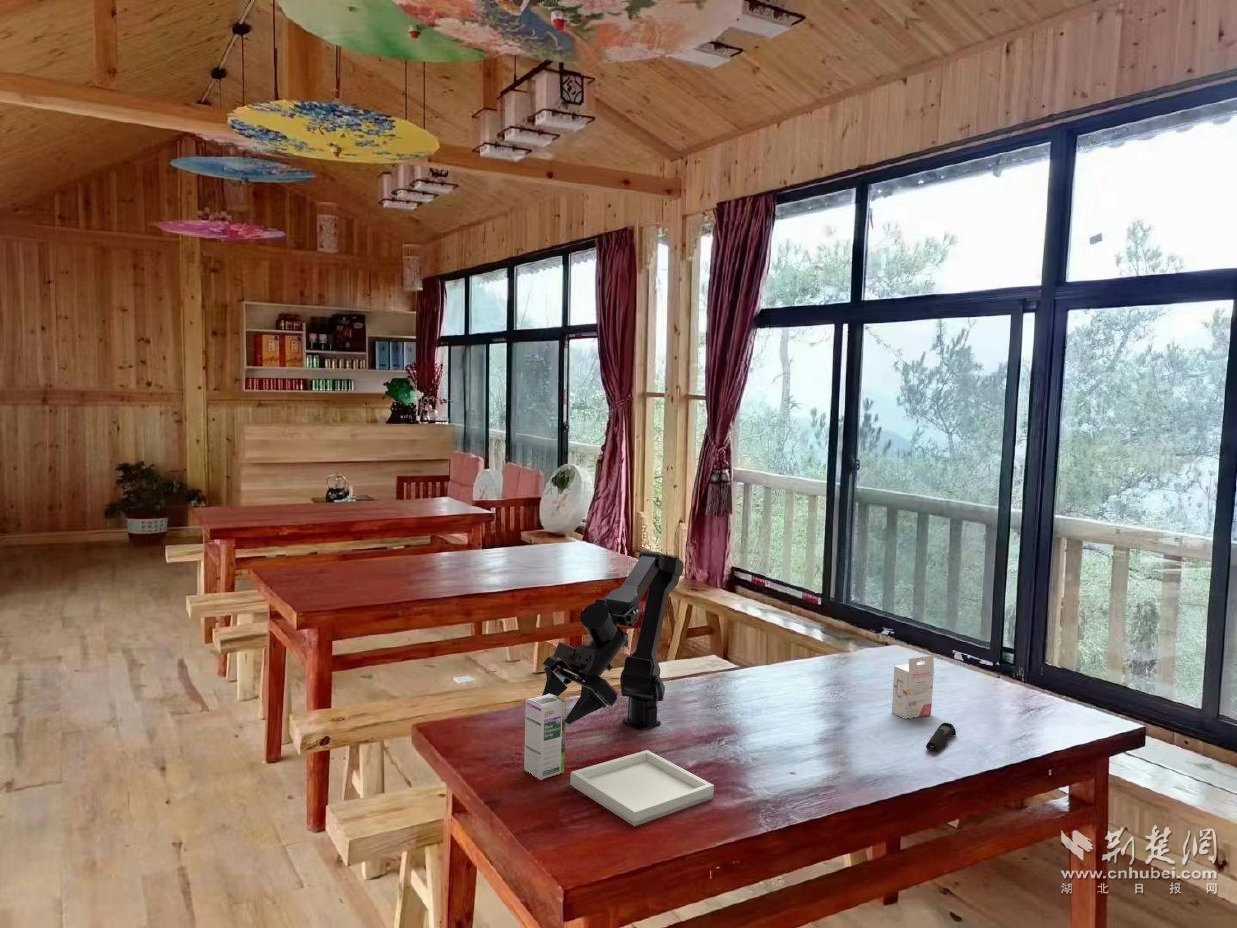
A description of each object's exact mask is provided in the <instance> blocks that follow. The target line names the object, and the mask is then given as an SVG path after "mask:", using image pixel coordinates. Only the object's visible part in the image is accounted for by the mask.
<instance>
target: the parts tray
mask: <svg viewBox="0 0 1237 928" xmlns="http://www.w3.org/2000/svg"><path fill="white" fill-rule="evenodd" d="M569 781H570V782H569V786H571V785H572V786H571V787H573V788H574V789H575V790H577V791H579V792H580V793H582V794H583V795H585V796H586V797H589V798H590V799H592V800H593V801H595V802H596V803H598V804H599V805H601V806H603V807H604V808H606V809H607V810H608V811H610V812H611V813H613V814H614V815H616V816H618V817H620V818H621V819H623V820H624V821H625V822H627V823H628V824H630V825H631V826H633V827H636V826H640V825H642V824H645V823H647V822H648V823H649V822H651V821H653V820H657V819H659V818H662V817H664V816H668V815H671V814H673V813H676V812H679V811H681V810H684V809H687V808H690V807H693V806H695V805H698V804H701V803H704V802H707V801H709V800H712V799H714V792H715V791H714V789H715V785H714V784H713V783H711V782H709V781H707V780H705V779H703V778H701V777H699V776H697V775H695V774H694V773H691V772H690V771H689V770H686V769H684V768H682V767H680V766H678V765H677V764H675V763H673V762H671V761H669V760H668V759H665V758H663V757H662V756H660V755H657V754H656V753H653V752H652V751H650V750H649V749H646V750H642V751H639V752H635V753H632V754H628V755H625V756H621V757H618V758H615V759H611V760H608V761H604V762H601V763H598V764H594V765H589V766H586V767H584V768H580V769H576V770H573V771H571V772H570V779H569Z"/></svg>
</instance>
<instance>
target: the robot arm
mask: <svg viewBox="0 0 1237 928" xmlns="http://www.w3.org/2000/svg"><path fill="white" fill-rule="evenodd" d="M683 573H684V562H683V560H681V559H680V557H679V555H675V554H666V553H661V552H660V551H652V550H642V551H640V552H639V555H638V560H637V562H636V563H635V564H634V566H633V567H632V570H631V571H630V572H629V574H628V575H627V577H626V579H625V580H624V582H623V583H622V585H621V586H620V587H619V588H615V589H614V590H611V591H610V592H609V593H608V594H607V595H606V596H605V597H604V599H603V598H596V600H595V601H594V603H591V604H589V605H587V606H586V607H584V609H583V610H582V611H581V613H580V617H579V618H580V623H581V625H582V626H583V628H584V629H585V631H586V632H587V634H588V636H589V638H591V640H590V642H589V643H588V645H587V644H586V645H585V644H581V645H578V646H577V647H573V646H571V645H569V644H565V643H563V642H561V641H558V644H557V646H556V648H555V651H554V653H553V655H551V656H547V657H546V658H545V660H544V661H543V662H542V666H543V667H544V668H543V670H544V672H545V675H546V682H545V686H544V689H543V691H542V695H541V696H543V695H547V694H549V693H550V694H552V695H555V696H558V697H559V696H560V695H562V694H563V693H564V692H565V691H566V690H567V689H568V688H569V687H568V686H567V685H569V684H571V683H575V684H577V685H579V686H581V689H580V695H579V698H578V699H577V701H576V702H575V704H574V705H573V707H572V709H571V710H570V711H569V713H568V715H566V720H565V722H566V724H567V725H571V724H572V723H574V722H576V721H578V720H580V719H582V718H584V717H586V716H587V715H589V714H592V713H594V712H595V711H598V710H600V709H602V708H603V709H606V708H607V706H609V707H611V708H612V707H613V706H614V704H615V703H616V701H617V700H618V692H617V690H616V689H615V688H614V687H613V686H612V685H611V684H610V682H608V681H607V680H606V679H605V678H602V675H603V673H604V672H605V670H606V671H609V672H610V671H611V670H612V668H613V666H612V665H611V663H612V661H613V660H614V658H615V657H616V656H617V654H618V653H619V652H620V650H621V649H622V648H623V647H625V648H628V647H629V633H627V632H625V631H623V629H622V628H621V627H627V628H632V627H633V626H634V625H635V624H636V623H637V622H638V621H639V618H640V615H641V608H640V602H641V599H642V598H643V596H644V594H645V593H646V592H647V595H646V600H645V604H644V605H645V606H644V611H643V615H642V619H641V625H640V629H639V634H638V638H637V643H636V648H635V651H634V652H633V653H632V654H631V655H628V656H626V658H625V660H624V666H623V669H622V671H621V672H620V676H619V678H620V679H619V682H620V691H621V696H622V697H627V698H628V703H627V705H628V706H627V717H624V718H622V719H621V720H622V721H621V722H622V723H625V724H627V725H629V726H630V727H633V728H634V729H637V730H638V731H639V730H640V731H641V730H646V729H649V728H653V727H657V726H660V725H662V721H659V720H658V702H663V701H664V697H665V692H666V691H665V690H666V686H665V684H664V682H663V680H662V678H661V675H660V674H661V667H660V664H659V662H658V659H657V658H658V657H657V653H658V648H659V644H660V643H659V642H660V640H661V639H660V638H661V634H662V630H663V624H664V621H665V620H664V619H665V614H666V609H667V603H668V599H669V596H670V594H671V593H672V592H673V590H675V589H676V587H677V586H679V583H680V578H681V576H682V575H683ZM619 626H621V627H619Z"/></svg>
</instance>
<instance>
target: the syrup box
mask: <svg viewBox="0 0 1237 928" xmlns="http://www.w3.org/2000/svg"><path fill="white" fill-rule="evenodd" d="M566 713H567V701H566V700H565V699H563V698H561V697H559V696H555V695H552V694H550V693H549V694H547V695H543V696H542V695H539V696H535V697H531V698H527V699H525V721H524V722H525V723H524V762H523V765H524V766H523V769H524V771H525V772H527V773H528V772H529V773H528V774H530V773H531V774H532V775H531V774H530V775H531V776H534V777H535V778H536V779H537V780H539V781H543V780H544V779H547V778H550V777H553V776H556V775H561V774H564V773H565V754H566V753H565V750H566V747H565V746H566V724H567V723H566V722H565V720H566V718H567V715H566ZM560 773H561V774H560Z"/></svg>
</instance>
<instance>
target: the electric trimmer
mask: <svg viewBox="0 0 1237 928" xmlns="http://www.w3.org/2000/svg"><path fill="white" fill-rule="evenodd" d="M956 734H957V731H956V728H955V726H954V725H953V724H952V723H949V722H943V723H941V724H940V725H939V726H938V727H937V729H936V730H935V732H934V733H933V735H932V736H931V737H930V739H929V740H928V741H927V744H925V748H926V750H928V751H929V750H930V751H934V752H938V751H940V750H941V749H943V748H945V747H947V745H948V740H949V739H950V737H952V736H953V735H955V736H956Z"/></svg>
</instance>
